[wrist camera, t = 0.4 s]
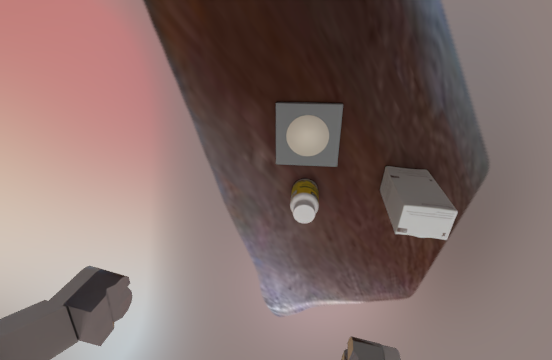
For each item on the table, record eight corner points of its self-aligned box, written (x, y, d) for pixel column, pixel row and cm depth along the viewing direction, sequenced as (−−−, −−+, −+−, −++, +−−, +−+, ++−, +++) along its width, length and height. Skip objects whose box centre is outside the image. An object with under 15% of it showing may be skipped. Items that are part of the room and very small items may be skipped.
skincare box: (426, 168, 56) (462, 209, 43) (418, 195, 59) (450, 241, 46) (382, 165, 57) (404, 204, 44) (376, 192, 60) (395, 236, 46)
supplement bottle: (322, 185, 60) (324, 210, 51) (309, 204, 63) (309, 231, 54) (300, 173, 60) (298, 196, 51) (287, 193, 62) (283, 218, 53)
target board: (276, 101, 54) (275, 103, 52) (342, 103, 52) (343, 104, 51) (276, 161, 59) (275, 164, 58) (336, 164, 58) (337, 167, 57)
